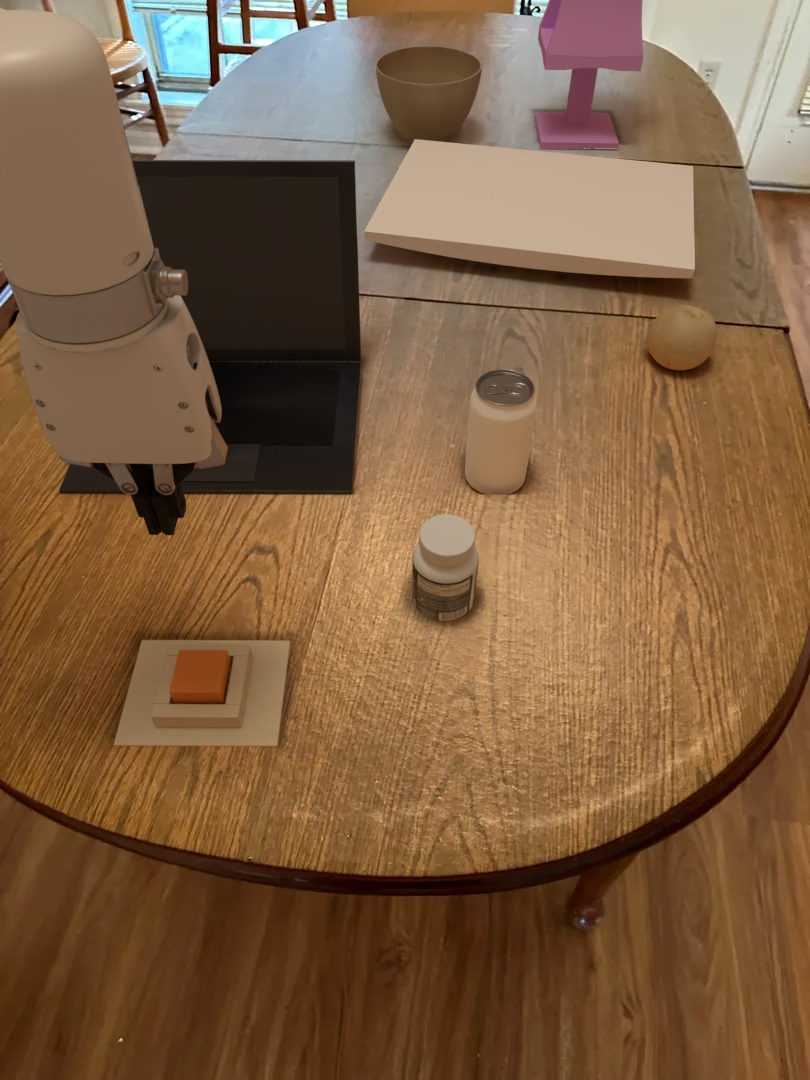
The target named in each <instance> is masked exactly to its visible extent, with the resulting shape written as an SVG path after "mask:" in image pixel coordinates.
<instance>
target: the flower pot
mask: <svg viewBox="0 0 810 1080" xmlns="http://www.w3.org/2000/svg"><path fill="white" fill-rule="evenodd" d="M482 70H483V63H482V61H481V60H480V59H479V58H478V57H477V56H476V55H474V54H473V53H471V52H469V51H466V50H463V49H459V48H455V47H450V46H441V45H415V46H414V45H412V46H405V47H400V48H396V49H393V50H391V51H388V52H385V53H383V54H382V55H381V56H379V57H378V58H377V60H376V62H375V73H376V80H377V85H378V90H379V94H380V98H381V101H382V103H383V106H384V110H385V111H386V113H387V116H388V117H389V119H390V121H391V123H392V125H393V126H394V127H395V129H396V131H397V132H398V133H399V134H400V136H401V137H402V138H403V139H404V140H405V142H407V143H408V144H410V145H412V143H413V142H414V140H415V139H418V140H428V141H439V142H450V140H451V139H452V138H453V137H454V136H455V134H456V133H457V132H458V131H459V129H460V128H462V125H463V124H464V123H465V121H466V119H467V118H468V116H469V113H470V112H471V110H472V107H473V104H474V102H475V100H476V96H477V93H478V91H479V86H480V81H481V75H482Z"/></svg>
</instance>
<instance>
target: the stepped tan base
mask: <svg viewBox="0 0 810 1080" xmlns="http://www.w3.org/2000/svg"><path fill="white" fill-rule="evenodd" d="M140 641H141V642H140V645H139V649H138V652H137V657H136V660H135V663H134V668H133V672H132V675H131V679H130V682H129V686H128V690H127V693H126V697H125V701H124V704H123V707H122V712H121V715H120V719H119V723H118V727H117V730H116V734H115V738H114V742H113V746H114V747H173V748H174V747H177V748H178V747H185V748H189V747H191V748H192V747H194V748H195V747H196V748H197V747H199V748H201V747H202V748H203V747H204V748H207V747H209V748H213V747H214V748H215V747H217V748H219V747H220V748H278V746H279V741H280V740H279V739H280V732H281V723H282V716H283V715H282V714H283V708H284V699H285V689H286V682H287V673H288V666H289V665H288V664H289V657H290V650H291V649H290V648H291V640H287V639H286V640H280V639H279V640H276V639H275V640H274V639H273V640H271V639H269V640H268V639H267V640H265V639H264V640H263V639H262V640H260V639H258V640H255V639H254V640H253V639H252V640H251V639H249V640H248V639H246V640H245V639H141V640H140ZM179 650H227V651H228V654H229V657H230V660H231V664H230V669H229V675H228V681H227V686H226V692H225V698H224V703H174V702H173V699H172V697H171V695H170V693H169V691H170V687H171V683H172V678H173V674H174V670H175V665H176V661H177V657H178V652H179Z"/></svg>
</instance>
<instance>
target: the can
mask: <svg viewBox="0 0 810 1080" xmlns="http://www.w3.org/2000/svg"><path fill="white" fill-rule="evenodd" d="M535 390H536V389H535V384H534V383H533V380H531V378H530V377H528V375H526V374H524V373H522V372H520V371H517V370H513V369H508V368H500V369H499V368H498V369H492V370H489V371H487V372H484V373H483V374H481V375H480V376H479V377H478V379H477V380H476V382H475V387H474V389H473V390H472V392H471V395H470V400H469V402H470V403H469V411H468V423H467V436H466V450H465V463H464V464H465V465H464V477H465V480H466V482H467V483H468V485H469V486H470V487H471V488H473V489H474V490H475V491H476V492H478V493H480V494H483V495H486V496H488V495H491V496H493V495H494V496H495V495H497V496H498V495H500V496H502V495H503V496H504V495H507V496H508V495H510V494H513V493H515V492H516V491H518V490H519V489H520V488H521V487H522V486H523V485H524V483H525V481H526V478H527V477H526V476H527V471H528V469H527V468H528V465H529V464H528V463H529V457H530V451H531V445H532V437H533V431H534V426H535V421H536V420H535V418H536V412H537V396H536V393H535Z"/></svg>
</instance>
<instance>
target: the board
mask: <svg viewBox="0 0 810 1080" xmlns="http://www.w3.org/2000/svg"><path fill="white" fill-rule="evenodd" d="M694 192H695V191H694V166H693V165H687V164H686V165H685V164H677V163H676V164H675V163H665V162H655V161H645V160H634V159H624V158H614V157H613V158H612V157H604V156H594V155H593V156H592V155H585V154H584V155H583V154H572V153H563V152H562V153H561V152H552V151H542V150H530V149H520V148H510V147H501V146H490V145H479V144H470V143H457V142H450V141H448V142H439V141H428V140H418V139H415V140H414V142H413V143H412V144H410V147H409V149H408V151H407V153H406V154H405V156H404V158H403V160H402V161H401V163H400V165H399V167H398V169H397V171H396V173H395V174H394V176H393V178H392V180H391V182H390V183H389V185H388V186H387V188H386V191H385V193H384V194H383V197H382V198H381V200H380V202H379V203H378V205H377V207H376V209H375V211H374V213H373V214H372V216H371V217H370V219H369V222H368V224H367V225H366V227H365V229H364V231H363V234H364V235H363V236H364V241H369V242H371V243H377V244H382V245H386V246H392V247H396V248H399V249H404V250H410V251H415V252H421V253H426V254H431V255H436V256H443V257H448V258H454V259H459V260H466V261H473V262H480V263H485V264H493V265H501V266H509V267H516V268H523V269H524V268H525V269H531V270H541V271H542V270H543V271H550V272H551V271H552V272H553V271H554V272H560V273H561V272H562V273H571V274H573V273H574V274H584V275H585V274H586V275H597V276H598V275H599V276H614V277H615V276H617V277H631V278H633V277H634V278H656V279H657V278H658V279H659V278H660V279H663V278H664V279H693V277H694V275H695V270H696V254H695V251H696V249H695V203H694V198H695V197H694V196H695V195H694V194H695V193H694Z"/></svg>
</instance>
